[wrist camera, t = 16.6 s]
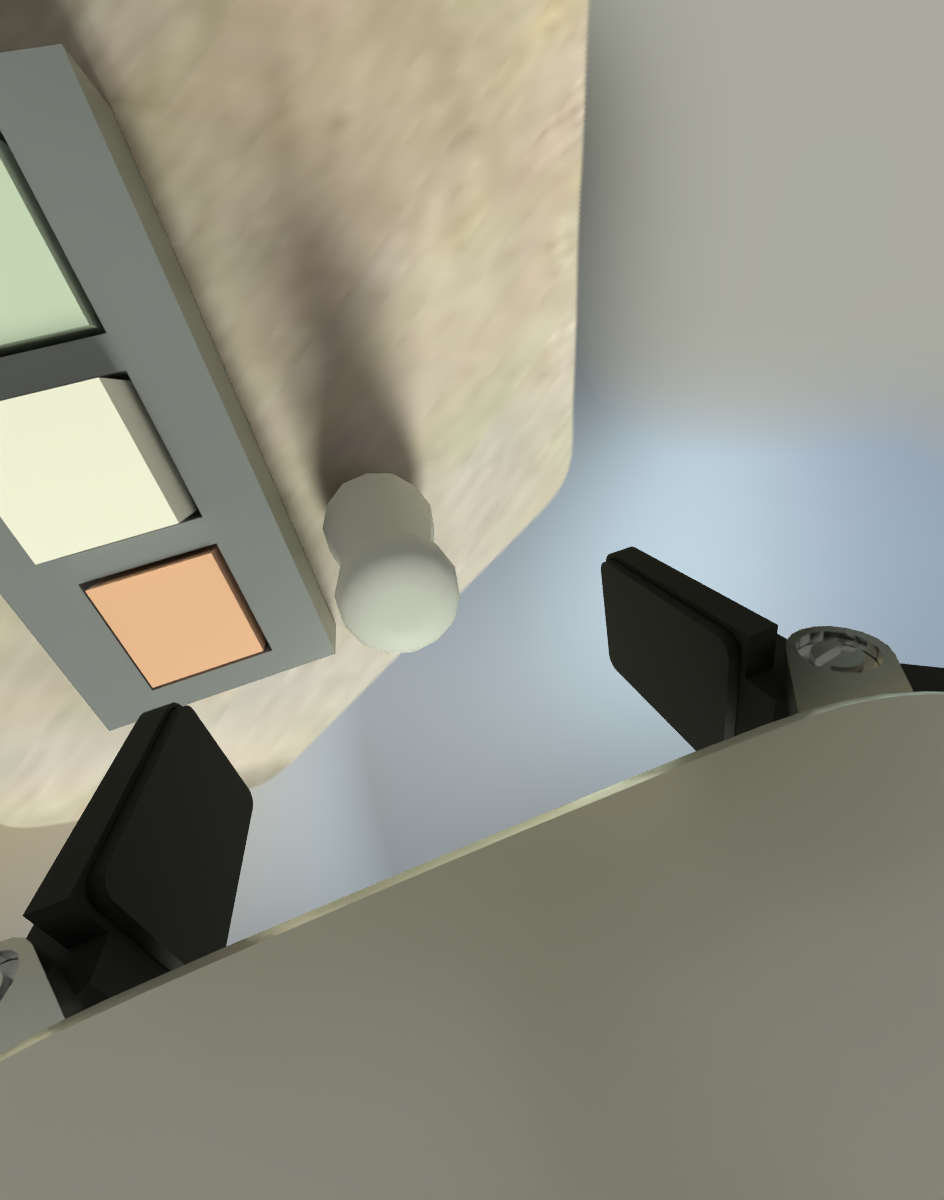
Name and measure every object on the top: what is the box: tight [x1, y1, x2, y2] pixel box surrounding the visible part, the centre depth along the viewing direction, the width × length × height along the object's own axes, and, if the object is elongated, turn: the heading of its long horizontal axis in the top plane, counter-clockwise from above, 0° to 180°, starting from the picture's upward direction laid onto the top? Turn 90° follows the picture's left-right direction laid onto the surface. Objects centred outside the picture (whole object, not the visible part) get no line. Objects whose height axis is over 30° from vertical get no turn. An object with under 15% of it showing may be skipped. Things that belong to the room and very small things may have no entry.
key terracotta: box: [85, 543, 267, 688], centre depth 24 cm, size 6×6×4 cm
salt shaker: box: [323, 473, 460, 653], centre depth 21 cm, size 6×6×13 cm
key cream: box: [0, 377, 198, 565], centre depth 19 cm, size 6×6×4 cm
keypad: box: [0, 44, 336, 731], centre depth 21 cm, size 24×12×4 cm, turn 13°
